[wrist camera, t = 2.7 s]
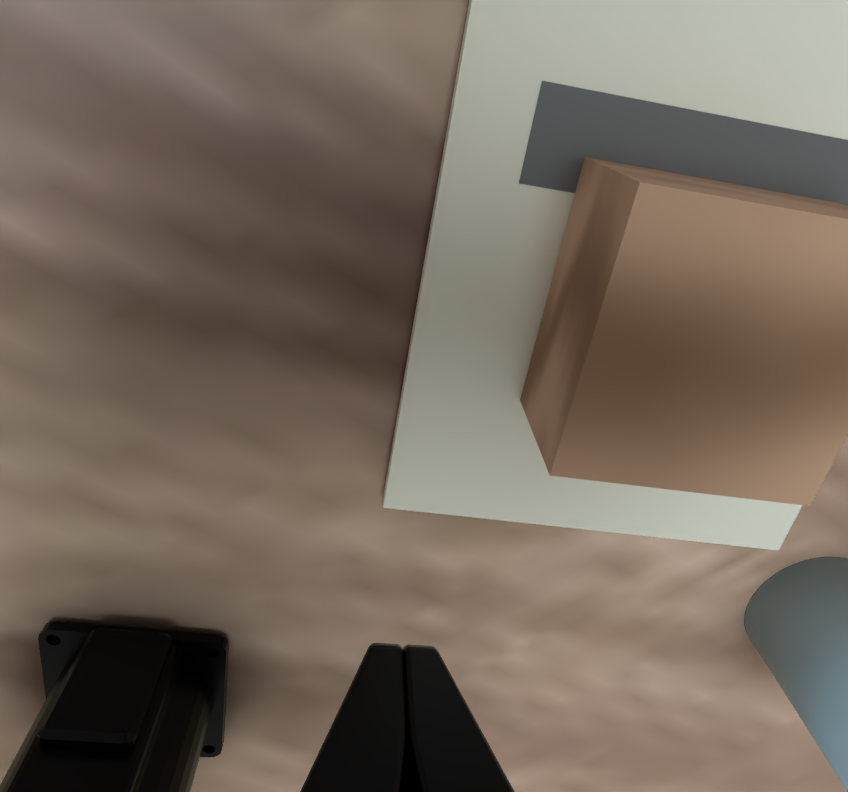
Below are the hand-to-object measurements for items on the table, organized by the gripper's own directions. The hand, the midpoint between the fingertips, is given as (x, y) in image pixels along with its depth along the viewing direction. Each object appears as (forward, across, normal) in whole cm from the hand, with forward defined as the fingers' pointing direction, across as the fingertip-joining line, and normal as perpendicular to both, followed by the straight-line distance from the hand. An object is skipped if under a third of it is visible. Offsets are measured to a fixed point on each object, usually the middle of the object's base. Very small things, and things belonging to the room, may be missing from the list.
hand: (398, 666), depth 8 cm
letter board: (+12, -8, -2) cm, 14 cm away
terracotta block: (+11, -8, -2) cm, 14 cm away
